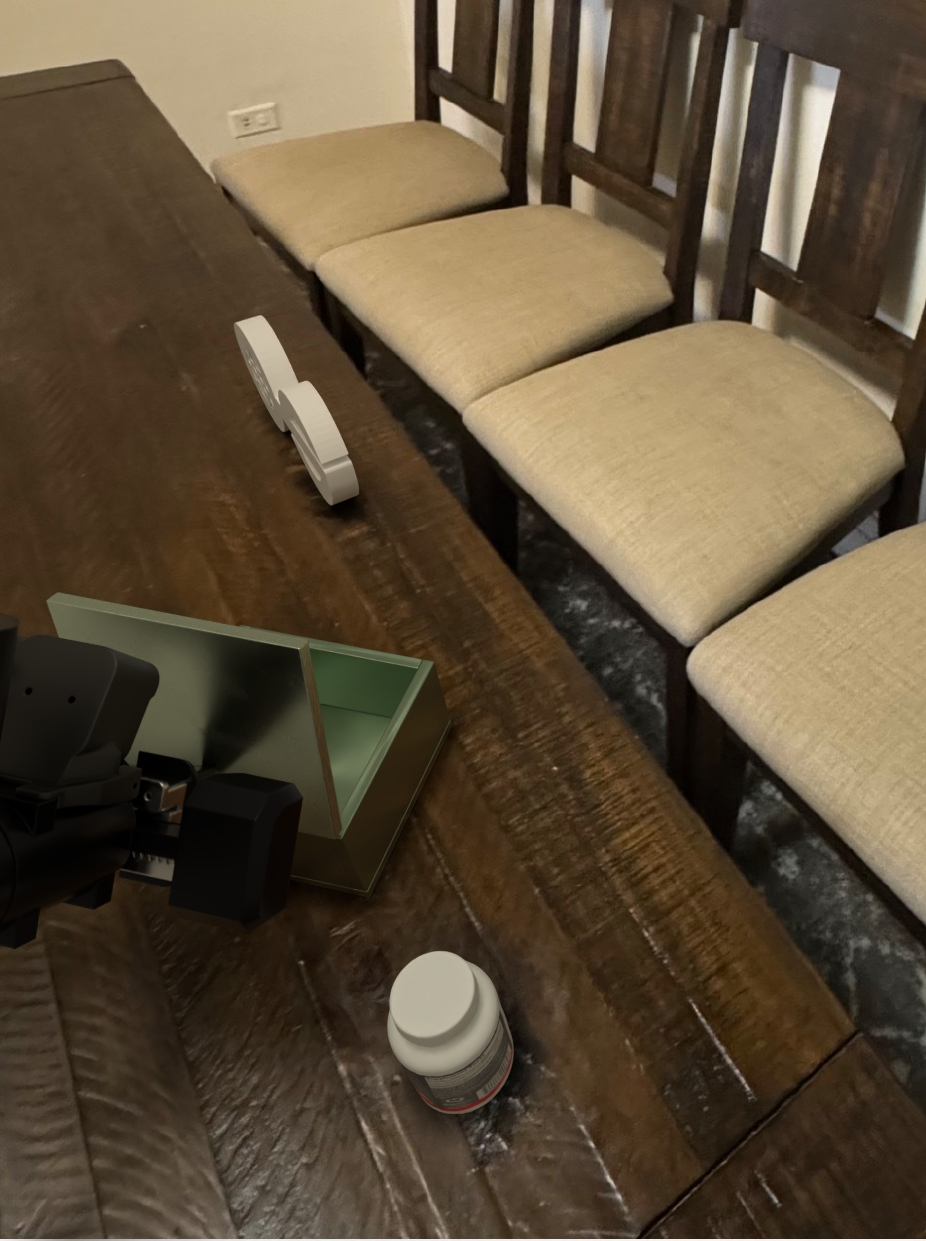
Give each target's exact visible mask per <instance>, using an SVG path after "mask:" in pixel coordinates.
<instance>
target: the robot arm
mask: <svg viewBox="0 0 926 1241" xmlns="http://www.w3.org/2000/svg"><path fill="white" fill-rule="evenodd" d="M20 626H21V621H20V620H19V619H18V618H17V617H16V616H15V617H14V616H12V615H10V614H7V613H3V612H0V947H4V948H9V949H13V950H16V949H18V948H21V947H23V946H24V945H26V944H28V943H30V942H32V941H34V940H36V939H37V933H38V927H39V921H40V914H41V913H43V912H45V911H47V910H50V909H51V908H53V907H56V906H58V905H60V904H66V905H71V906H75V907H79V908H83V909H89V910H92V911H94V910H97V909H98V908H101V907H102V906H104V905H106V904H108V903H110V902H111V901H112V897H113V891H114V883H115V878H116V873H117V872H118V878H120V879H125V880H129V881H134V882H138V883H142V884H147V885H151V886H156V887H161V888H168V887H170V889H169V895H168V901H167V906H168V908H169V909H170V910H171V911H172V912H173V913H174V914H175V916H176V917H177V918H178V919H181V920H186V921H190V922H196V923H200V924H203V925H209V926H213V927H217V928H222V929H226V930H231V931H236V932H240V933H245V934H250V933H251V932H253V931H254V930H256V929H257V928H259V927H260V926H262V925H263V924H265V923H267V922H268V921H270V920H271V919H272V918H274V917H275V916H276V915H279V913H281V912H282V911H284V910H285V909H286V908H287V901H288V895H289V889H290V882H291V880H290V877H291V871H292V864H293V858H294V852H295V846H296V840H297V833H298V827H299V821H300V815H301V809H302V802H303V797H302V795H301V793H300V792H299V790H298V789H297V787H296V786H295V784H294V783H290V782H285V781H280V780H275V779H270V778H266V777H261V776H256V775H251V774H246V773H218V774H215V767H211V766H206V765H201V764H191V763H190V762H189V761H187V760H184V759H179V758H174V757H169V756H164V755H160V754H155V753H150V752H145V751H139V752H138V759H137V764H130V763H127V762H126V760H125V758H126V757H127V755H128V753H129V752H130V749H131V747H132V745H133V742H134V740H135V737H136V735H137V732H138V729H139V727H140V724H141V722H142V719H143V717H144V714H145V712H146V709H147V707H148V704H149V701H150V700H151V698H152V697H154V696H155V694H156V691H157V689H158V686H159V681H160V676H159V671H158V669H157V668H156V667H155V666H154V665H153V664H151V663H149V662H147V661H144V660H141V659H138V658H136V657H133V656H130V655H128V654H125V653H122V652H119V651H117V650H114V649H111V648H108V647H105V646H101V645H96V644H90V643H85V642H80V641H75V640H69V639H64V638H59V637H58V636H53V635H47V634H35V635H31V636H29V637H27V636H24V635H19V633H20V632H19V631H20Z"/></svg>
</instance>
